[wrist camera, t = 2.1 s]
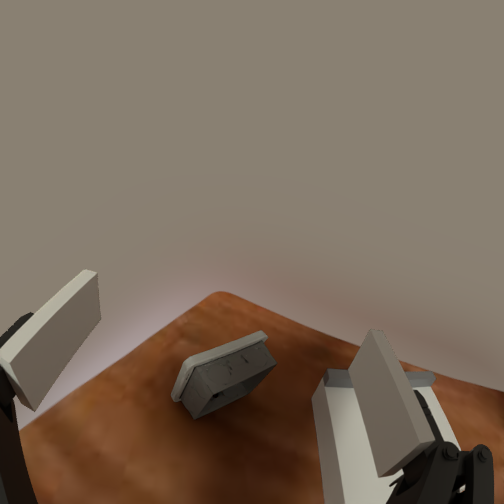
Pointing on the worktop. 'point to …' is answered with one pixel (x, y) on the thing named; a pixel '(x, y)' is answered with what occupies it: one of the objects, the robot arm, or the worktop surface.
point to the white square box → (358, 439)
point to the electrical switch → (222, 374)
